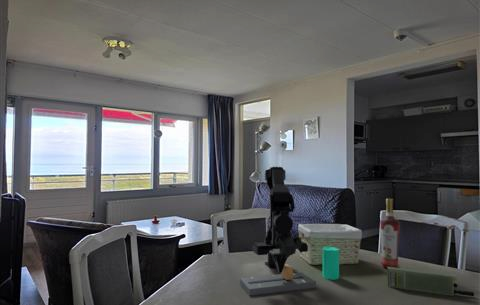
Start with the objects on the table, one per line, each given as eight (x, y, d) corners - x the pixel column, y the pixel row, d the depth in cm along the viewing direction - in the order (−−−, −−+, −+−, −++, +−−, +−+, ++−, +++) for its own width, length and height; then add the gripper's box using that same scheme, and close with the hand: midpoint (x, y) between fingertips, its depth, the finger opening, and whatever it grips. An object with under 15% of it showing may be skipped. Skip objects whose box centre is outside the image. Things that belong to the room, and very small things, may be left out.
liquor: (379, 268, 130) (378, 199, 131) (381, 263, 136) (381, 197, 137) (399, 271, 126) (398, 200, 127) (400, 266, 132) (400, 198, 133)
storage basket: (345, 254, 150) (345, 222, 150) (363, 265, 134) (363, 229, 134) (296, 256, 146) (296, 223, 147) (308, 267, 130) (309, 230, 131)
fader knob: (281, 275, 112) (281, 263, 112) (287, 275, 113) (287, 263, 113) (286, 279, 108) (286, 267, 108) (292, 279, 109) (292, 266, 109)
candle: (339, 280, 116) (339, 246, 116) (322, 278, 117) (322, 245, 117) (338, 274, 121) (338, 242, 122) (322, 273, 123) (322, 242, 123)
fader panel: (239, 284, 111) (239, 277, 111) (301, 277, 118) (301, 271, 118) (249, 295, 101) (249, 288, 101) (316, 287, 108) (316, 281, 108)
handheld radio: (387, 284, 112) (472, 296, 103) (388, 288, 109) (475, 300, 100) (387, 265, 113) (472, 275, 103) (387, 268, 109) (475, 279, 100)
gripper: (263, 233, 100) (263, 283, 99) (316, 230, 105) (316, 278, 105) (252, 226, 111) (251, 271, 110) (300, 224, 116) (300, 267, 116)
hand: (280, 272), depth 110 cm, fingers closed
